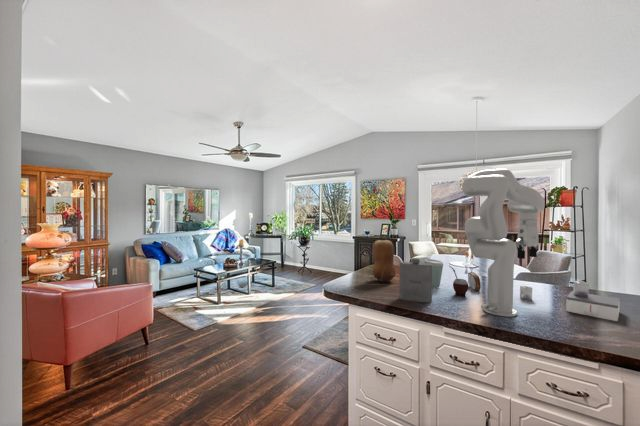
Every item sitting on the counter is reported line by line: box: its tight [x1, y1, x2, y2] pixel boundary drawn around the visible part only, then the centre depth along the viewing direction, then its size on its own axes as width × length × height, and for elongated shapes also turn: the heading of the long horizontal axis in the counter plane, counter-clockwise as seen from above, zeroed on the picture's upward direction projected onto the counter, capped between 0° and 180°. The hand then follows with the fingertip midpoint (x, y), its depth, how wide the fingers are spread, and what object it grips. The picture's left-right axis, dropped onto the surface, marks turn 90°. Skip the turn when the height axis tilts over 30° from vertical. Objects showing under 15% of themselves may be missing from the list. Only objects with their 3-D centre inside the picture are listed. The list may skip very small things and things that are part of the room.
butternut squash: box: [372, 239, 397, 283], centre depth 180 cm, size 14×13×25 cm
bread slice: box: [467, 271, 482, 292], centre depth 167 cm, size 15×3×8 cm, turn 168°
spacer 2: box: [572, 280, 589, 298], centre depth 134 cm, size 5×5×6 cm
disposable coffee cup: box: [423, 258, 444, 289], centre depth 169 cm, size 11×11×15 cm
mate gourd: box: [448, 265, 469, 298], centre depth 153 cm, size 8×8×15 cm
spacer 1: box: [519, 285, 533, 302], centre depth 148 cm, size 5×5×6 cm
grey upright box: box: [398, 257, 433, 303], centre depth 145 cm, size 15×6×20 cm, turn 70°
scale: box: [565, 290, 621, 322], centre depth 130 cm, size 17×16×6 cm
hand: (527, 257), depth 148 cm, fingers open, 9 cm apart
